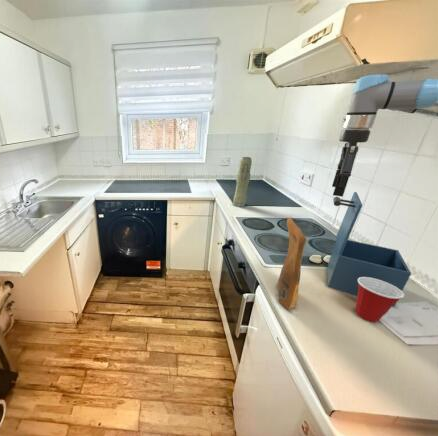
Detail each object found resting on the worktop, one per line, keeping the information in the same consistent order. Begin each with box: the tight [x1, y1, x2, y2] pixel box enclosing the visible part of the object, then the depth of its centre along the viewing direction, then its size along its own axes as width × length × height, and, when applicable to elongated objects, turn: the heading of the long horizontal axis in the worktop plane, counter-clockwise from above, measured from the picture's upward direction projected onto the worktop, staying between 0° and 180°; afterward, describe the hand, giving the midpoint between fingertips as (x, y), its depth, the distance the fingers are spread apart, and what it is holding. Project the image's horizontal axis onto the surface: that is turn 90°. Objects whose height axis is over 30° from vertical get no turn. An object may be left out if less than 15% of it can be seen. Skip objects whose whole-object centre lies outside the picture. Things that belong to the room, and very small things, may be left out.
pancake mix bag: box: [277, 216, 308, 312], centre depth 81 cm, size 7×19×28 cm, turn 156°
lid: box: [332, 191, 363, 255], centre depth 90 cm, size 19×18×7 cm
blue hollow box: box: [326, 238, 412, 308], centre depth 90 cm, size 19×18×14 cm
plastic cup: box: [355, 277, 406, 323], centre depth 76 cm, size 11×11×12 cm
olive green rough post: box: [232, 156, 253, 208], centre depth 171 cm, size 9×12×35 cm
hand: (336, 191), depth 87 cm, fingers open, 13 cm apart
